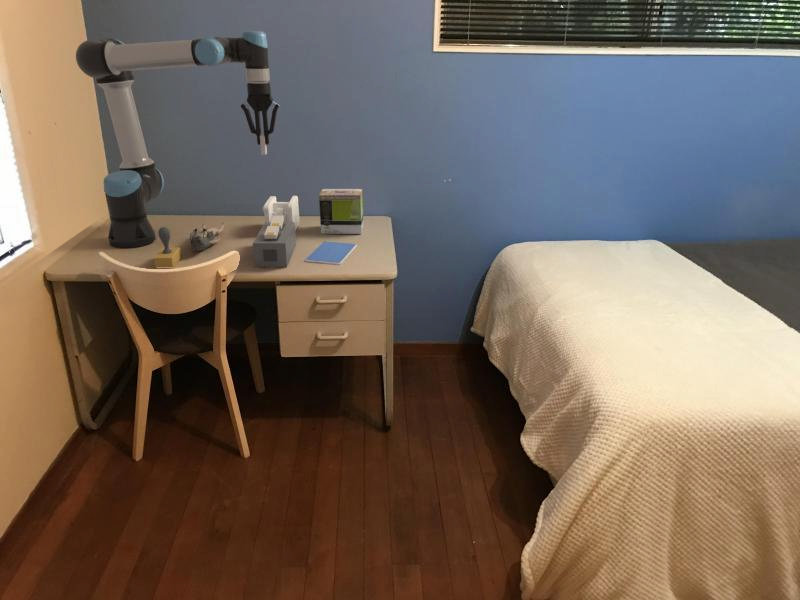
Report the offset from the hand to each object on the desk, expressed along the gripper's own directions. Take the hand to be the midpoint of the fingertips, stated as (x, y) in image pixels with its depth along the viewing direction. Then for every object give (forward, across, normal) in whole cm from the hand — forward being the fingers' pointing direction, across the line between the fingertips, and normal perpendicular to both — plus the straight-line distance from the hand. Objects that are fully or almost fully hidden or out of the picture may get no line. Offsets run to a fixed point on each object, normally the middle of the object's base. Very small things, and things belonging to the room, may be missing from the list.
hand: (264, 154), depth 212 cm
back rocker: (+19, -6, +18) cm, 27 cm away
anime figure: (+29, +20, +12) cm, 37 cm away
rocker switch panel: (+28, -6, +24) cm, 38 cm away
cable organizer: (+29, -4, -3) cm, 29 cm away
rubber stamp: (+29, +27, +31) cm, 50 cm away
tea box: (+29, -26, -3) cm, 39 cm away
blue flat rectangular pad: (+29, -24, +22) cm, 44 cm away
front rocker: (+19, -6, +29) cm, 35 cm away
